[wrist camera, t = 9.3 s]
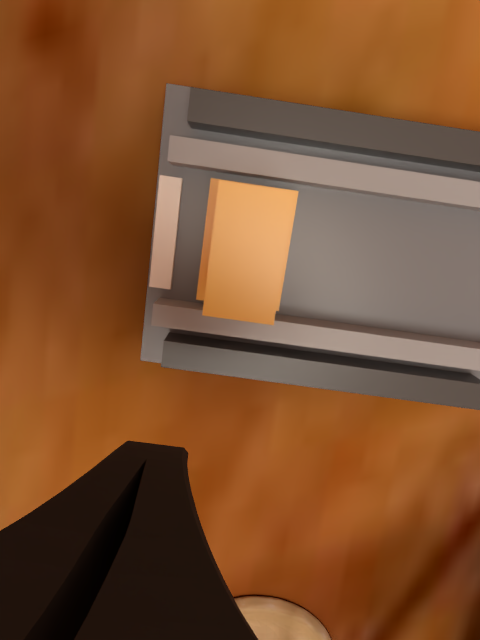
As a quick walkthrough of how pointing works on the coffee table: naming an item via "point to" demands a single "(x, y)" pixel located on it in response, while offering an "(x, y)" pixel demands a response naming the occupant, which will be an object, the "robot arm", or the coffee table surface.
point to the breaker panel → (326, 248)
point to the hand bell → (280, 619)
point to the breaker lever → (245, 250)
